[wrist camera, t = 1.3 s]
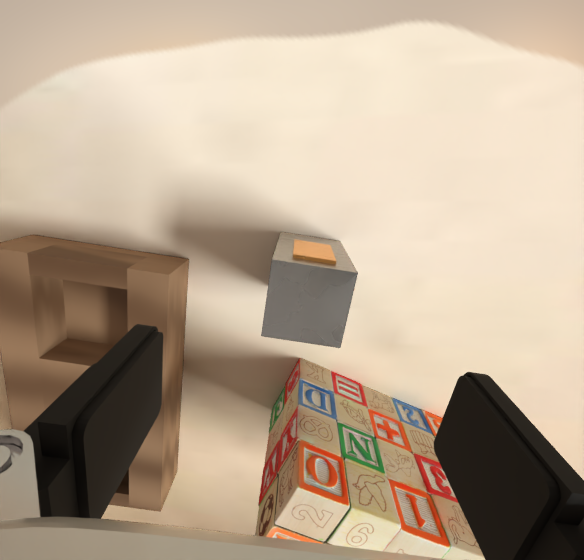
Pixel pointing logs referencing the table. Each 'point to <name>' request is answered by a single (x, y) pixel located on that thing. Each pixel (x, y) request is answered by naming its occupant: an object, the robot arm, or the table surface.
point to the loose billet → (309, 290)
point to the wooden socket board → (92, 337)
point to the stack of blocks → (357, 472)
